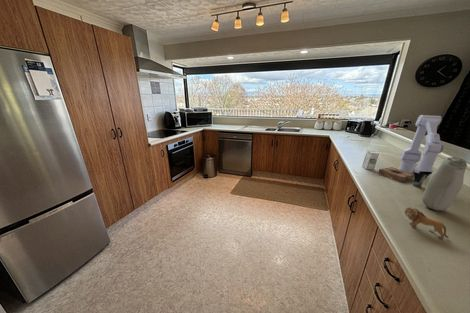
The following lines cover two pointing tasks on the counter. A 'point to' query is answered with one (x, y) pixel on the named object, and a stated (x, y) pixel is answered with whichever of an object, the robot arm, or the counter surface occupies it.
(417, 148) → the robot arm
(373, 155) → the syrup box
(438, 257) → the counter surface
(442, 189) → the white vase
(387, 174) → the bead block
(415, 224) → the lion figurine
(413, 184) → the grey cylinder
